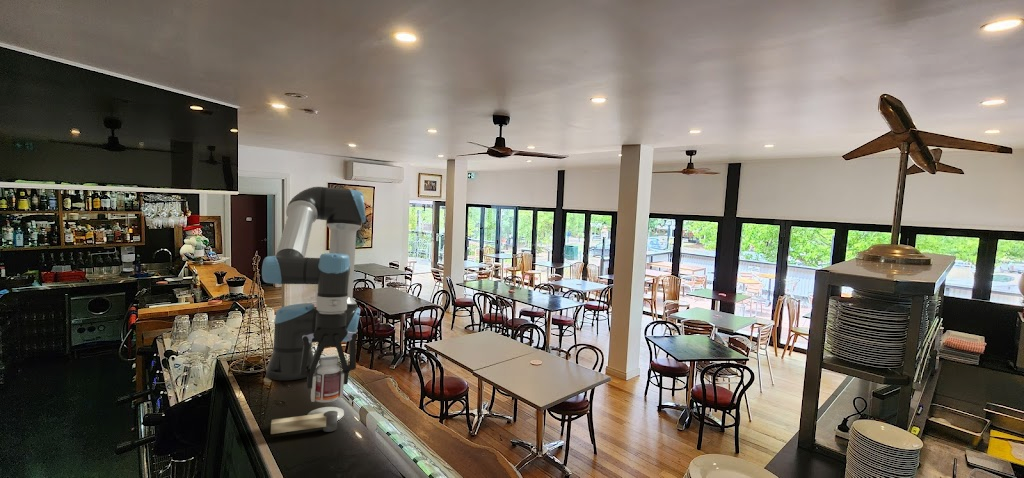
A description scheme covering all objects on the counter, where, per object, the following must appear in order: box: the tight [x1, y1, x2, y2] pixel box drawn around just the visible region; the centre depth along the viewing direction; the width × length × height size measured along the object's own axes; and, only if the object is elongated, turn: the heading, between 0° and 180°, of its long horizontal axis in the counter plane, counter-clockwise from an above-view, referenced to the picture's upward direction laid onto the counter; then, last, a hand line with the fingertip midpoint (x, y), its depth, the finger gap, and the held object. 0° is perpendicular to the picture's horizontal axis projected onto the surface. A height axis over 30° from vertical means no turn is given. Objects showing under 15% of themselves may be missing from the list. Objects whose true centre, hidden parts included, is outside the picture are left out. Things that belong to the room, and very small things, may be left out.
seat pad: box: [307, 406, 345, 422], centre depth 115 cm, size 9×9×1 cm
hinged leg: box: [270, 411, 338, 435], centre depth 105 cm, size 15×3×4 cm, turn 117°
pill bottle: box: [315, 354, 342, 403], centre depth 115 cm, size 6×6×11 cm
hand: (326, 397), depth 114 cm, fingers closed on pill bottle, 6 cm apart
